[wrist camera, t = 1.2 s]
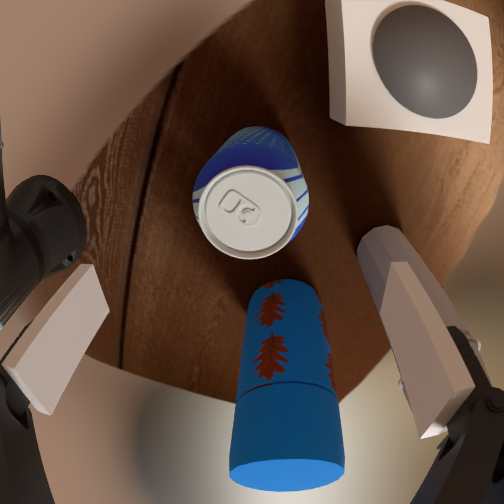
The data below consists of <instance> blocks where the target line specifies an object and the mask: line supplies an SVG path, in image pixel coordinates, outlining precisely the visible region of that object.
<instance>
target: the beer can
mask: <svg viewBox="0 0 504 504" xmlns="http://www.w3.org/2000/svg"><path fill="white" fill-rule="evenodd" d="M308 206H309V195H308V189H307V185H306V182H305V179H304V176H303V174H302V171H301V168H300V165H299V162H298V159H297V156H296V154H295V151H294V148H293V147H292V145H291V143H290V142H289V141H288V139H287V138H286V137H285V136H283V135H282V134H281V133H279V132H278V131H276V130H274V129H271V128H268V127H263V126H253V127H247V128H244V129H242V130H240V131H238V132H236V133H235V134H233V135H232V136H231V137H230V138H229V139H228V140H227V141H226V142H225V143H224V144H223V146H222V147H221V148H220V149H219V150H218V151H217V152H216V153H215V154H214V155H213V157H212V158H211V159H210V160H209V161H208V162H207V163H206V164H205V166H204V167H203V168H202V170H201V171H200V173H199V175H198V177H197V179H196V182H195V185H194V190H193V208H194V213H195V216H196V219H197V221H198V223H199V225H200V227H201V229H202V231H203V233H204V235H205V236H206V238H207V239H208V240H209V241H210V242H211V243H212V244H213V245H214V246H215V247H216V248H217V249H219V250H220V251H222V252H223V253H225V254H227V255H230V256H233V257H236V258H241V259H258V258H263V257H266V256H269V255H271V254H274V253H275V252H277V251H279V250H280V249H281V248H283V247H284V246H285V245H286V244H287V243H288V242H290V241H291V240H292V239H293V238H294V237H295V236H296V235H297V233H298V232H299V231H300V229H301V228H302V226H303V224H304V222H305V219H306V216H307V213H308Z"/></svg>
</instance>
